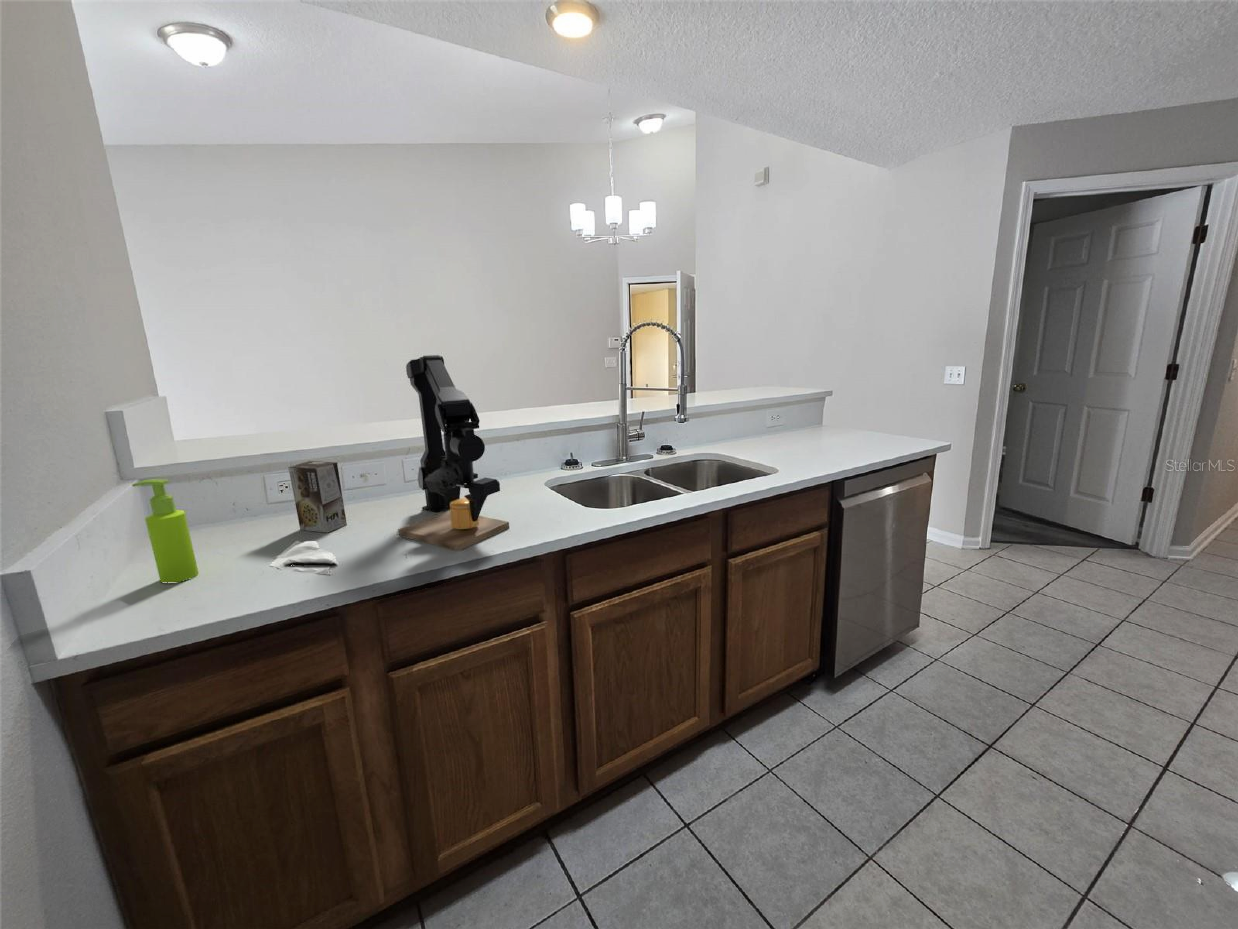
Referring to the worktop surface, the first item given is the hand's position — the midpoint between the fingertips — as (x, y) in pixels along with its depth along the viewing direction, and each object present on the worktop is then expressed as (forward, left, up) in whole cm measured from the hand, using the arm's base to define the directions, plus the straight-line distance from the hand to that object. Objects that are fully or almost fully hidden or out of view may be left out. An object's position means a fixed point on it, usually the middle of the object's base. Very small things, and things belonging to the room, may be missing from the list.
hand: (465, 518), depth 124 cm
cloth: (-20, -26, -5) cm, 33 cm away
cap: (0, 0, -1) cm, 1 cm away
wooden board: (-4, 0, -4) cm, 6 cm away
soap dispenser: (-34, -44, -4) cm, 56 cm away
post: (0, 0, -2) cm, 2 cm away
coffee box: (-36, -13, -4) cm, 38 cm away
